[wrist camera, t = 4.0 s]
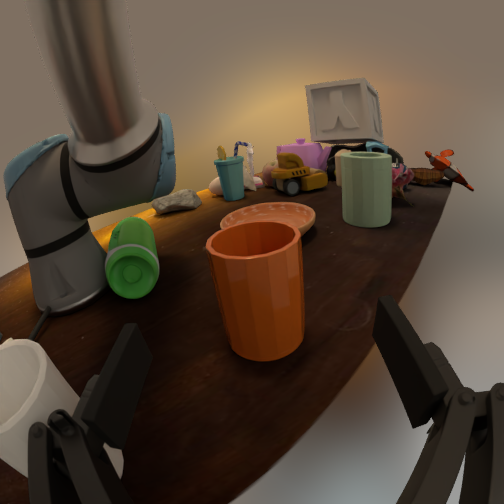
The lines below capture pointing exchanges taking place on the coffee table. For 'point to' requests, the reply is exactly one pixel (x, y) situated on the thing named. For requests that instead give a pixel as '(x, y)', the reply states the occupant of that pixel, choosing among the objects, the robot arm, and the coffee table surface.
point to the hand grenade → (332, 171)
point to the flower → (400, 181)
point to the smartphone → (257, 184)
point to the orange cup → (259, 287)
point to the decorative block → (344, 112)
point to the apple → (269, 171)
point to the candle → (339, 166)
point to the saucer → (274, 215)
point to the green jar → (366, 188)
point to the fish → (447, 167)
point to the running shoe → (362, 148)
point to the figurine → (249, 160)
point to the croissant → (426, 175)
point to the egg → (216, 187)
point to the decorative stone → (177, 201)
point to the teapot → (308, 153)
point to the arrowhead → (248, 179)
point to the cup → (231, 173)
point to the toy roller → (296, 175)
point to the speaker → (132, 259)
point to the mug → (32, 400)
